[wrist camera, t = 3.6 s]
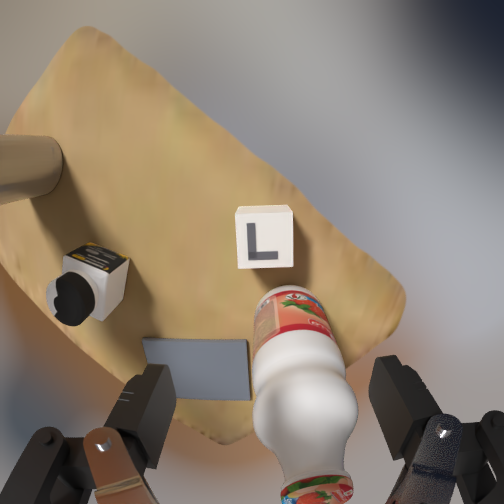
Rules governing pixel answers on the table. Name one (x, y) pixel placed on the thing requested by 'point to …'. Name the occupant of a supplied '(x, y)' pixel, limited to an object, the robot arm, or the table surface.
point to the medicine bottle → (88, 284)
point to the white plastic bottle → (302, 396)
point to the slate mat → (203, 366)
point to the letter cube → (264, 236)
